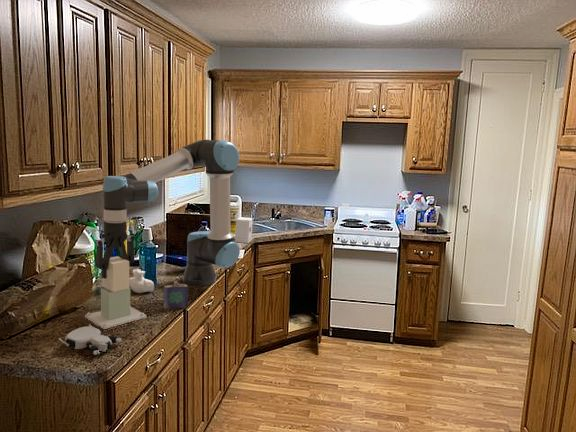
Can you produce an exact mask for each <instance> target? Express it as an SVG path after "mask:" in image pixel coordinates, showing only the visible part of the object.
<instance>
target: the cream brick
mask: <svg viewBox="0 0 576 432" xmlns="http://www.w3.org/2000/svg"><path fill="white" fill-rule="evenodd" d="M107 269H109V279H110V287H109V288H107V287H105V286H104V278H102V277H101V286H102V288H107V289H109V290H111V291H112V292H115V291H120V290H124V289H129V288H130V285H129V278H130V266H129V261H128V260H125V259H123V258H122V257H120V256H118V255H117V256H111V257H110V261H109V264H108V268H107Z"/></svg>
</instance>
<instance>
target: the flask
mask: <svg viewBox="0 0 576 432" xmlns="http://www.w3.org/2000/svg"><path fill="white" fill-rule="evenodd" d="M188 295H189V285H188V284H185V283H179V282H178V280H174V281H173V284H170V285H168V284H167V285H164V286H163V303H162V304H163V305H162V306H163V309H164V310H176V309H186V308H188V306H189V305H188V304H189V296H188Z"/></svg>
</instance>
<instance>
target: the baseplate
mask: <svg viewBox="0 0 576 432" xmlns="http://www.w3.org/2000/svg"><path fill="white" fill-rule="evenodd" d="M84 318H85V319H86V318H87V319H88V320H87V319H86V320H87V321H89V320H90V321H92V322H93V323H95V324H97V325H98V326H100V327H101V328H103V329H106V328H110V327H113V326H117V325H121V324H124V323H127V322H131V321H134V320H139V319H142V318H146V319H147V315H146V314H145V313H144V312H141V311H140V310H138V309H136V308H134V307H133V306H130V315H128V316H124V317H120V318H117V319H113V320H108V319H106V318H105V317H103V316H101V310H100V311H95V312H87V313H86V314H84ZM142 320H143V319H142ZM90 321H89V322H90ZM139 321H140V320H139ZM92 322H91V323H92ZM93 323H92V324H93ZM95 324H94V325H95ZM98 326H97V327H98ZM101 328H100V329H101Z"/></svg>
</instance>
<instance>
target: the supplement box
mask: <svg viewBox="0 0 576 432" xmlns="http://www.w3.org/2000/svg"><path fill="white" fill-rule="evenodd" d="M253 221H254V220H253V217H244V216H239V217H237V218H236V219H235V234H234V242H235V243H242V244H249V243H251V242H252V240H253V239H252V237H253Z"/></svg>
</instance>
